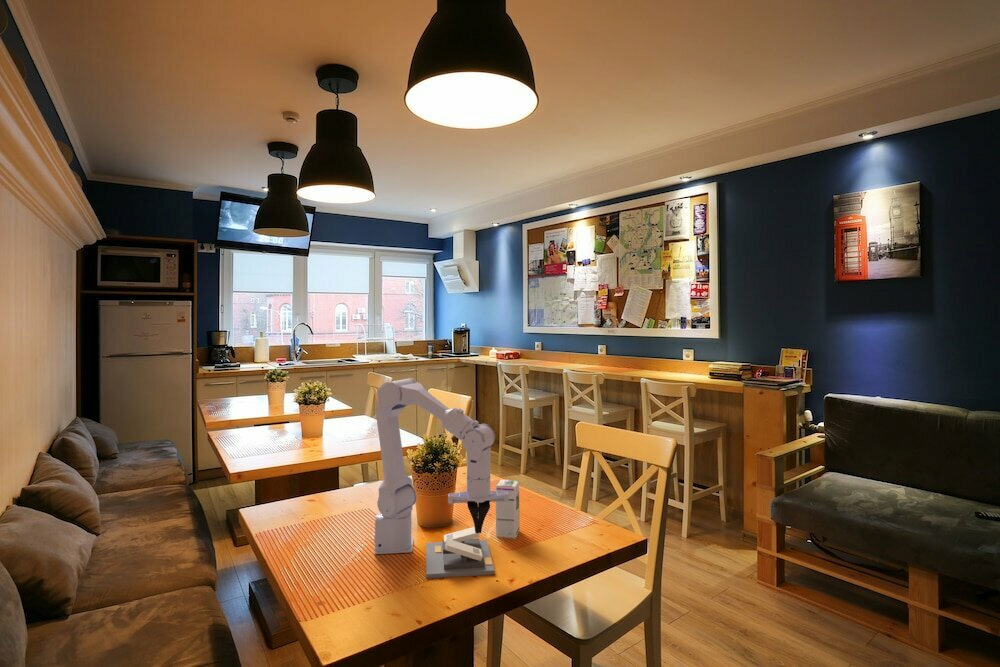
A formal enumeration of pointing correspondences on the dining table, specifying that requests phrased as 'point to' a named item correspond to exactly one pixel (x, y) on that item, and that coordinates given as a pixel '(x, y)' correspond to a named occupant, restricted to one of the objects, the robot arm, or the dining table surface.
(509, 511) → the syrup box
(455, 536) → the back rocker
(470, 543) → the switch board
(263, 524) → the dining table surface
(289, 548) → the dining table surface
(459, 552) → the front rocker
